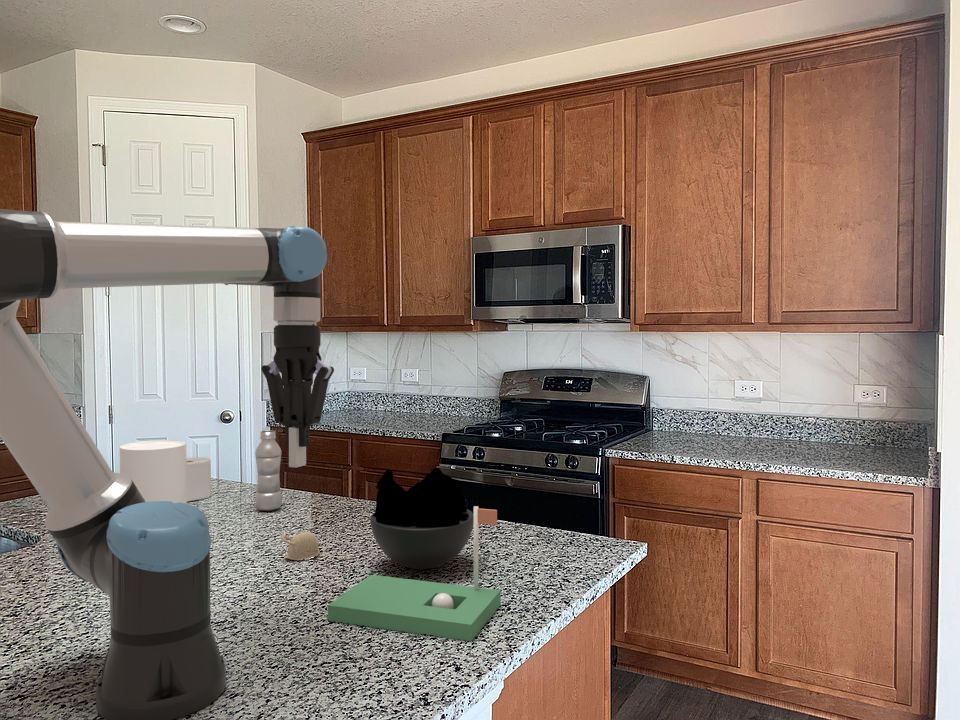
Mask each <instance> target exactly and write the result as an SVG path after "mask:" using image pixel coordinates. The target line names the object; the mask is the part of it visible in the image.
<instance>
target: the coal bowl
mask: <svg viewBox="0 0 960 720" xmlns="http://www.w3.org/2000/svg"><path fill="white" fill-rule="evenodd" d="M375 488H376V489H377V493H376V499H375V500H376V503H375V512H373V513H372V514H371V516H370V520H369V521H370V527H371V532H372V535H373V538H374V539H375V541H376V544H377V545H378V546H379V548H380V550H381V551H382V552H383V553H384V554H385V555H386V556H387V558H389V559H390V560H392V561H393V562H395V563H397V564H398V565H401V566H403V567H405V568H409V569H413V570H414V569H415V570H428V569H433V568H437V567H440V566H442V565H444V564H446V563H449V562H450V561H451V560H453V559H454V558H455V557H457V556H458V555H459V553H461V552H462V550H463V549H464V547H465V546H466V545H467V543H468V542H469V539H470V537H471V535H472V532H473V530H474V511H472V510H470V509H468V508H467V501H466V500H465V498H464V496H463V494H462V490H463V488H464V486H463V483H461V481H459V480H458V479H457V478H453V477H451V476H450V475H447V474H445V473H443V471H442V470H441V469H440V468H439V467H433V469H432V470H431V471H430V472H429V473H426V474H425V477H424V478H423V479H422V480H421V481H418V482H417V483H415V484H414V485H413V486H410V487H409V488H408V489H407V490H405V489H404V488H403V486H401V485H399V484H398V483H397V482H396V481H395V479H394V472H393V470H392V469H386V470H385V471H384V472H383V474H382V477H381V478H380V479H379V480H378V481H377V483H376V487H375Z"/></svg>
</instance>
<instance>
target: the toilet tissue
mask: <svg viewBox="0 0 960 720" xmlns="http://www.w3.org/2000/svg"><path fill="white" fill-rule="evenodd" d="M211 462H212V461H211V458H208V457H202V456H201V457H200V456H197V457H195V456H194V457H193V456H192V457H186V480H187V502H191V501H199V500H203V499H205V500H206V499H207V498H210V497H211V496H212V473H211V472H212V471H211V467H212V466H211V464H212V463H211Z"/></svg>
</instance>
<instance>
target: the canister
mask: <svg viewBox="0 0 960 720" xmlns="http://www.w3.org/2000/svg"><path fill="white" fill-rule="evenodd" d="M186 444H187V443H186V441H183V440H171V439H170V440H169V439H165V440H164V439H163V440H162V439H161V440H160V439H159V440H145V441H143V440H142V441H136V442H130V443H125V444H122V445H120V446H119V473H120V474H126V475H128V476H130V478H131V479H132V481H133V482H134V484H135V486H136V487H137V489H138V490H139V492H140V493H141V495H142V497H143V498H144V500H145V501H146V502H151V501H171V502H172V503H178V502H180V503H185V504H188V501H187V480H186V458H187V445H186Z"/></svg>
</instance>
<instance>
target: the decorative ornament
mask: <svg viewBox="0 0 960 720" xmlns="http://www.w3.org/2000/svg"><path fill="white" fill-rule="evenodd" d="M280 539H281V540H282V542H284V543H286V544H287V545H288V547H287V554H286V556H285V557H284V558H285V559H288V560H293V561H299V560H302V559H307V558H311V557H315V556H316V557H318V556H319V555H320V554H321V553H320V550H319V547H320V546H319V540H318V538H317V536H316V535H315V534H314V533H313V532H312V531H311V532H310V531H305V532H304V531H303V532H300V533H297V534H296V535H294V536H293V537H290V536H288V535H285V534H284V535H282V536H281V538H280ZM316 557H315V558H316Z"/></svg>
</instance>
